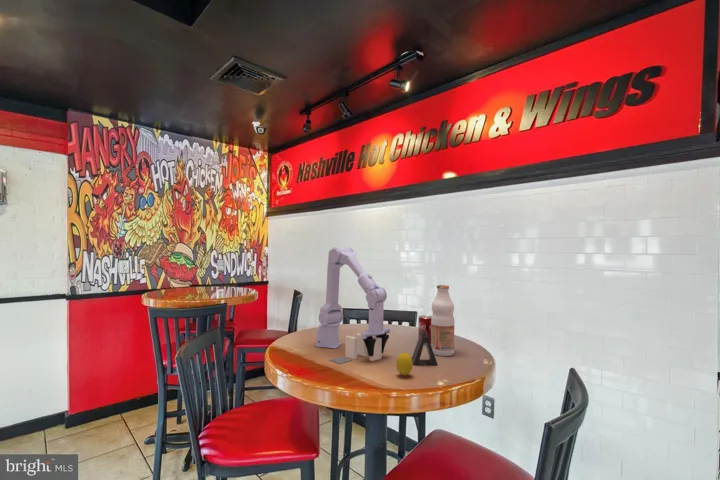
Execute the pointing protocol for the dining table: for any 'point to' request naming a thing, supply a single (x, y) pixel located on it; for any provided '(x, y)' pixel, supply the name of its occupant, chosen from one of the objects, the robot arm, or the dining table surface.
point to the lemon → (404, 363)
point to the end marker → (340, 360)
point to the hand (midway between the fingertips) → (375, 354)
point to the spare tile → (377, 349)
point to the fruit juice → (442, 323)
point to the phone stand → (418, 351)
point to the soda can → (424, 325)
